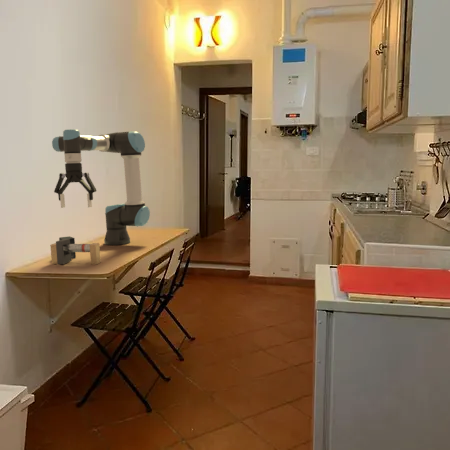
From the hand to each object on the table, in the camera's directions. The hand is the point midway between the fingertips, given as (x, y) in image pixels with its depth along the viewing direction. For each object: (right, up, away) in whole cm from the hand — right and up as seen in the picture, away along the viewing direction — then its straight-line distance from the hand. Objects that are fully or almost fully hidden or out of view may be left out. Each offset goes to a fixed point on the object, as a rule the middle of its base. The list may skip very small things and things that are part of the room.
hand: (76, 207), depth 226 cm
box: (-9, -26, +15) cm, 31 cm away
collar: (-6, -20, 0) cm, 21 cm away
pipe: (0, -27, 0) cm, 27 cm away
